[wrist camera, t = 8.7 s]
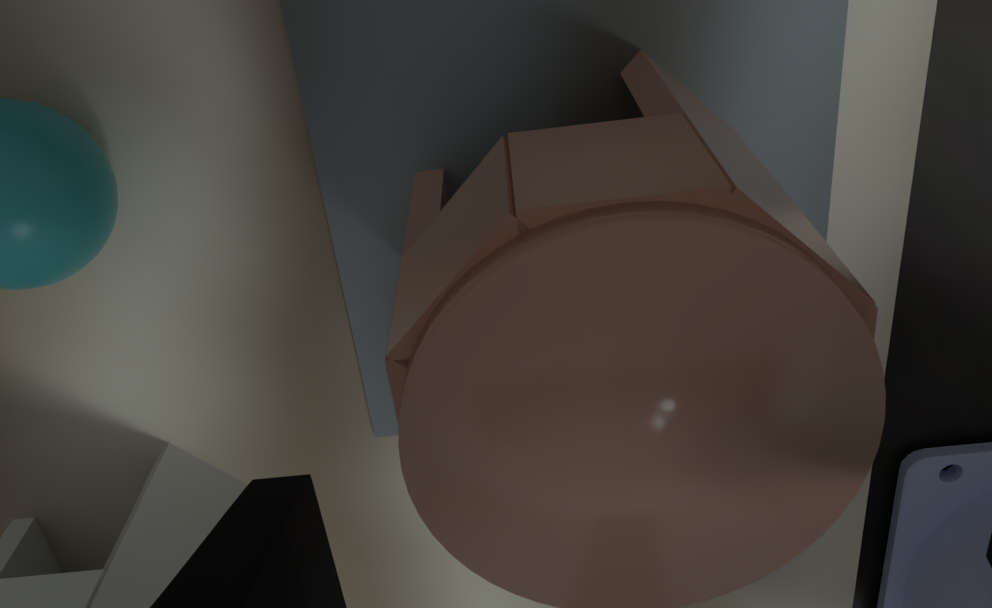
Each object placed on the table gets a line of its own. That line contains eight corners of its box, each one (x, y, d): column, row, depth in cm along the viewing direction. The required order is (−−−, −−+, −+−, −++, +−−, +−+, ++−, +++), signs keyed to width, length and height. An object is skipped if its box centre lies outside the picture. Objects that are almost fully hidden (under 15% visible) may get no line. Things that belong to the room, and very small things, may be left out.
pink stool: (739, 35, 14) (921, 189, 8) (732, 328, 17) (865, 593, 11) (398, 75, 14) (349, 253, 9) (446, 358, 17) (433, 635, 11)
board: (935, -208, 14) (971, -209, 13) (830, 626, 23) (847, 663, 22) (-426, -45, 14) (-493, -34, 13) (13, 699, 24) (-7, 738, 23)
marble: (111, 66, 14) (30, 123, 12) (164, 230, 16) (104, 314, 13) (-67, 86, 14) (-185, 147, 12) (2, 248, 16) (-89, 334, 13)
